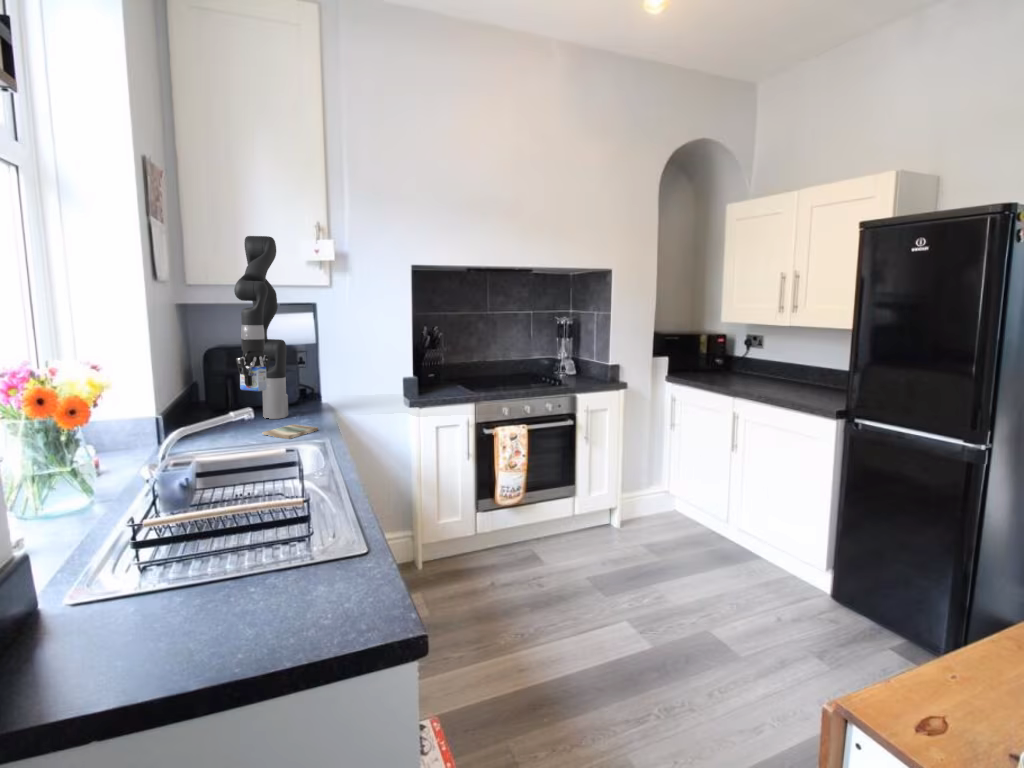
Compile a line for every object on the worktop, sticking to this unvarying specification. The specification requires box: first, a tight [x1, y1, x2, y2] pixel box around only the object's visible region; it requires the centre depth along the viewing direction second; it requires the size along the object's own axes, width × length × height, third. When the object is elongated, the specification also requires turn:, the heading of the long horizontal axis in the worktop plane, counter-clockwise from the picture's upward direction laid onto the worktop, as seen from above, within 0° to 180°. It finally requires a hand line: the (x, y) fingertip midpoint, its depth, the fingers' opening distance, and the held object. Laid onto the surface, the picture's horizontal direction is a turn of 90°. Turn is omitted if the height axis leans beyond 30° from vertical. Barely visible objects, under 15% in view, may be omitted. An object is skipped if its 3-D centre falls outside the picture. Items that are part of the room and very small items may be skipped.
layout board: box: [261, 423, 319, 440], centre depth 209 cm, size 16×12×1 cm
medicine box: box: [239, 366, 267, 392], centre depth 200 cm, size 8×4×9 cm, turn 75°
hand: (254, 384), depth 200 cm, fingers closed on medicine box, 4 cm apart
